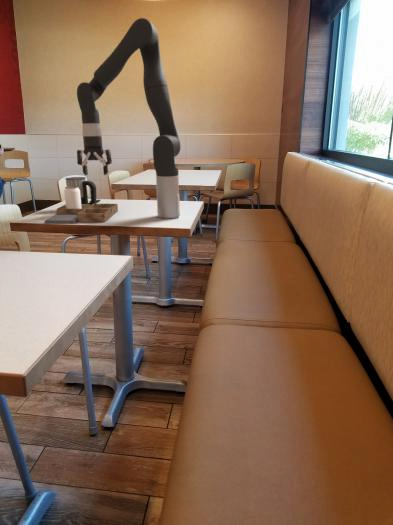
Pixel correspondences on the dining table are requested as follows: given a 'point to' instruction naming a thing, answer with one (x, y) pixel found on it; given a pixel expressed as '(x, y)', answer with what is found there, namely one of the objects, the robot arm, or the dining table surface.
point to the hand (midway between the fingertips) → (95, 174)
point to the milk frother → (83, 189)
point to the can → (72, 197)
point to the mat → (62, 218)
